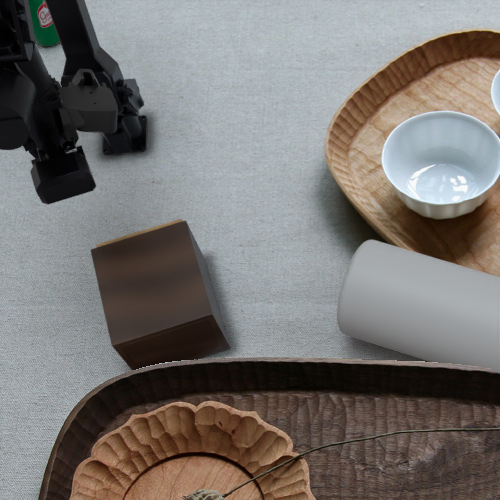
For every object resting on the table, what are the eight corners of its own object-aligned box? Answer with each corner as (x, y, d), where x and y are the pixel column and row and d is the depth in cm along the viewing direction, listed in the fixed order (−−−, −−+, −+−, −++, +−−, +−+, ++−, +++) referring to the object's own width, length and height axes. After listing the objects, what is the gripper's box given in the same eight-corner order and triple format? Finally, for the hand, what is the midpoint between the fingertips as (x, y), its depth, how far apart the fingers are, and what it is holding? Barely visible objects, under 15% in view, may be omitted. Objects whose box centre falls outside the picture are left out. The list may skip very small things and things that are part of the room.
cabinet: (117, 287, 112) (90, 249, 103) (205, 260, 113) (185, 220, 104) (138, 378, 106) (111, 345, 98) (231, 348, 108) (212, 313, 99)
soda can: (59, 50, 130) (24, -14, 118) (30, 46, 130) (-8, -18, 119) (70, 27, 131) (36, -39, 120) (41, 23, 132) (5, -42, 121)
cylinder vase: (341, 349, 107) (523, 407, 102) (328, 303, 95) (533, 367, 91) (375, 271, 111) (552, 324, 107) (367, 218, 99) (565, 275, 95)
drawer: (116, 269, 112) (94, 236, 105) (195, 244, 113) (179, 211, 106) (137, 359, 107) (115, 331, 99) (221, 332, 108) (205, 303, 100)
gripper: (117, 117, 86) (157, 221, 99) (79, 20, 95) (121, 127, 108) (11, 148, 83) (67, 250, 97) (-18, 45, 92) (37, 152, 106)
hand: (76, 191), depth 102 cm, fingers closed
